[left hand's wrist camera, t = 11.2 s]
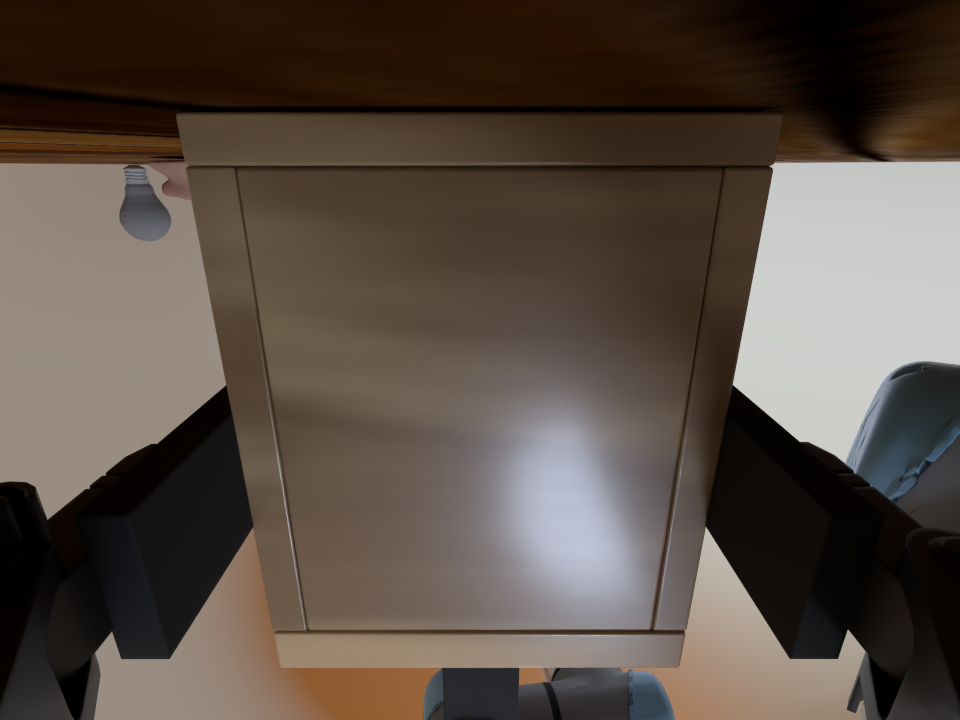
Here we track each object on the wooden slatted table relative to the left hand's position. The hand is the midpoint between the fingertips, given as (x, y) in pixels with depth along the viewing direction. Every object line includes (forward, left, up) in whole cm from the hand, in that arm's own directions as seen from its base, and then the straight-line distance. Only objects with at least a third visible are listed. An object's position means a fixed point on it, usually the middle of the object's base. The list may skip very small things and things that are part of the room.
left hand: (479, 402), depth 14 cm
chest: (-2, +2, -7) cm, 7 cm away
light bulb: (-19, +74, -7) cm, 77 cm away
